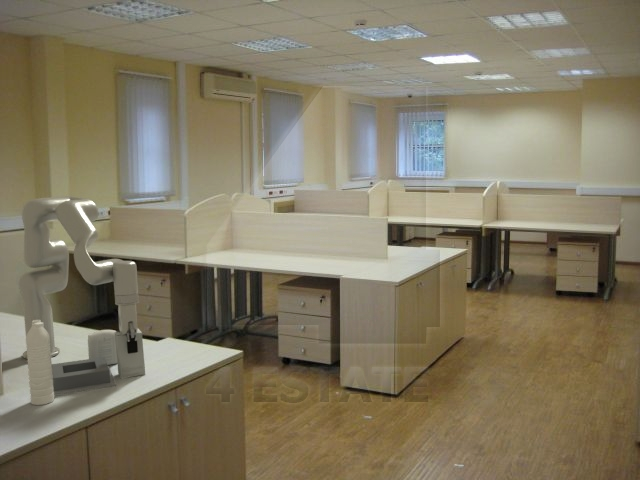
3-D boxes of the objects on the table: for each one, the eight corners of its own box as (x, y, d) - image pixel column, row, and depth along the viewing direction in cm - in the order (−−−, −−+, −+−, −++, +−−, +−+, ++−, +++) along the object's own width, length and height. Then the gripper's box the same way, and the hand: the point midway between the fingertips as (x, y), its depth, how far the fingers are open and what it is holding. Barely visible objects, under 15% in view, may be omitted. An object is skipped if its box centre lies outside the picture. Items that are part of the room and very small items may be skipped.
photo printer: (117, 360, 234) (115, 326, 232) (121, 363, 230) (118, 329, 228) (87, 365, 228) (85, 331, 226) (91, 369, 224) (88, 334, 223)
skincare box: (142, 369, 223) (139, 327, 221) (145, 375, 217) (143, 331, 215) (116, 373, 219) (114, 330, 217) (119, 379, 214) (117, 335, 212)
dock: (46, 378, 216) (45, 363, 215) (109, 369, 224) (108, 355, 223) (48, 396, 200) (46, 380, 199) (115, 385, 208) (115, 370, 207)
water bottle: (29, 400, 197) (22, 319, 193) (52, 395, 200) (45, 316, 197) (34, 409, 189) (27, 326, 186) (57, 404, 193) (51, 322, 190)
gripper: (112, 295, 221) (115, 344, 223) (118, 305, 205) (122, 357, 207) (134, 292, 224) (138, 341, 226) (142, 302, 208) (146, 354, 210)
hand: (130, 349), depth 217 cm, fingers open, 9 cm apart
